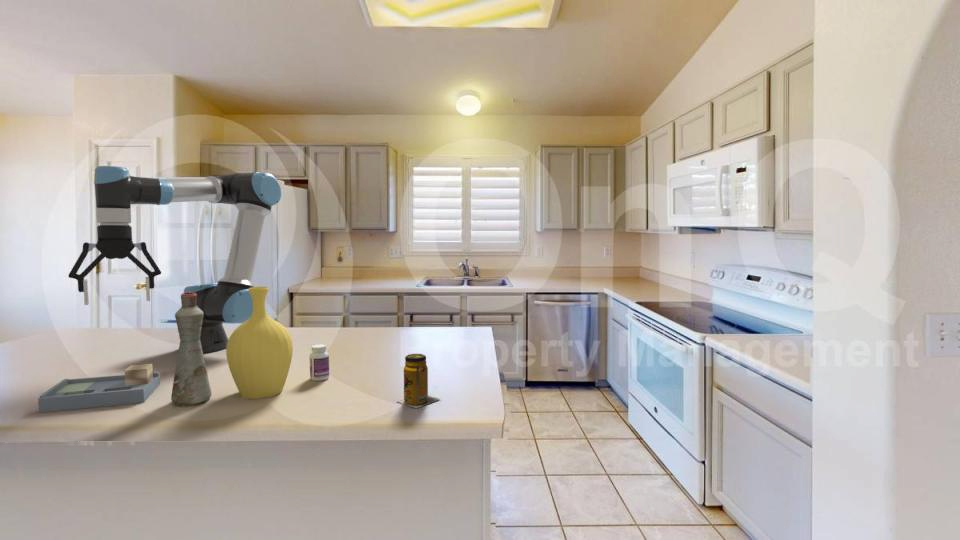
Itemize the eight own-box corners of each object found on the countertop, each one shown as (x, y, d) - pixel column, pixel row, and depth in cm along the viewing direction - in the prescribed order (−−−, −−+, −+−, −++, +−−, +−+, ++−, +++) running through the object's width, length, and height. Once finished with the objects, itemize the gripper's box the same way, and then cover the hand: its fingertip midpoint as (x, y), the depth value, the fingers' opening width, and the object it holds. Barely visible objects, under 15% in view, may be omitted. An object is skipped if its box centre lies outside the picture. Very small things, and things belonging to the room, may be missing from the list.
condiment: (396, 402, 125) (396, 356, 124) (421, 393, 131) (421, 349, 130) (416, 409, 120) (416, 361, 119) (440, 400, 127) (440, 354, 125)
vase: (279, 378, 143) (276, 282, 140) (304, 392, 131) (301, 288, 129) (219, 391, 131) (215, 287, 129) (240, 407, 120) (236, 294, 117)
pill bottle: (333, 376, 145) (332, 344, 144) (321, 382, 140) (321, 348, 139) (317, 374, 147) (317, 342, 146) (306, 380, 142) (305, 347, 141)
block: (153, 377, 134) (152, 363, 134) (147, 383, 130) (147, 368, 129) (131, 379, 133) (130, 365, 132) (125, 385, 128) (124, 370, 128)
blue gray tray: (159, 383, 137) (159, 370, 136) (144, 402, 123) (143, 387, 122) (66, 392, 129) (65, 378, 129) (39, 412, 115) (37, 397, 115)
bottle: (183, 410, 118) (178, 294, 115) (164, 403, 123) (158, 291, 120) (219, 399, 125) (214, 290, 122) (199, 393, 130) (194, 288, 127)
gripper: (168, 225, 143) (170, 297, 145) (55, 223, 129) (60, 303, 131) (169, 225, 137) (172, 300, 139) (52, 223, 123) (57, 307, 125)
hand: (118, 302), depth 135 cm, fingers open, 13 cm apart
